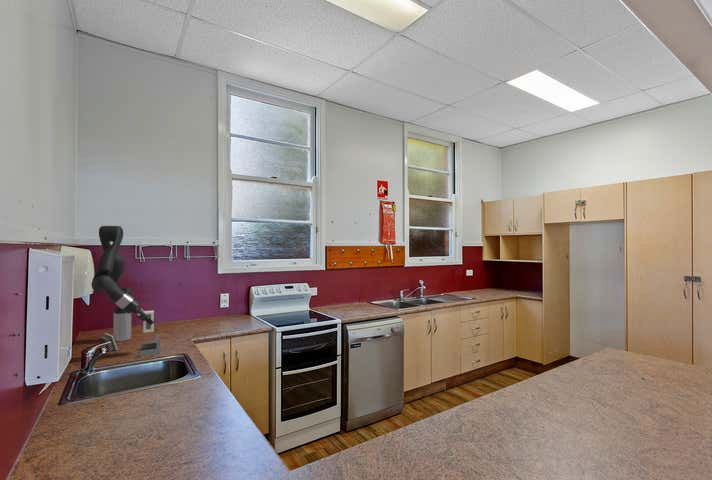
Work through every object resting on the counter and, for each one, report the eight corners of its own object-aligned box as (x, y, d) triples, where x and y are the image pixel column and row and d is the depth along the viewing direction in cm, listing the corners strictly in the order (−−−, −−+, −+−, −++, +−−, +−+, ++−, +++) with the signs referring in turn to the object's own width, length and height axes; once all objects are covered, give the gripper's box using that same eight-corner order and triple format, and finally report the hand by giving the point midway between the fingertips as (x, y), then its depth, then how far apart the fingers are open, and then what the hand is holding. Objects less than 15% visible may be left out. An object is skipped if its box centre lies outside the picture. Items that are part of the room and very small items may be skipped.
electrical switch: (118, 350, 197) (116, 334, 196) (107, 353, 193) (106, 337, 192) (110, 347, 202) (109, 331, 202) (100, 350, 198) (98, 334, 197)
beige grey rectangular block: (143, 330, 196) (143, 311, 196) (153, 329, 198) (153, 310, 198) (143, 332, 192) (143, 313, 191) (153, 331, 194) (153, 312, 194)
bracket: (141, 349, 200) (141, 335, 199) (159, 346, 204) (159, 333, 204) (140, 356, 187) (140, 342, 187) (159, 354, 192) (159, 339, 192)
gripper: (132, 300, 185) (158, 320, 191) (133, 296, 197) (157, 314, 203) (120, 310, 182) (146, 330, 188) (122, 306, 195) (147, 324, 201)
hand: (152, 322), depth 196 cm, fingers closed on beige grey rectangular block, 5 cm apart
